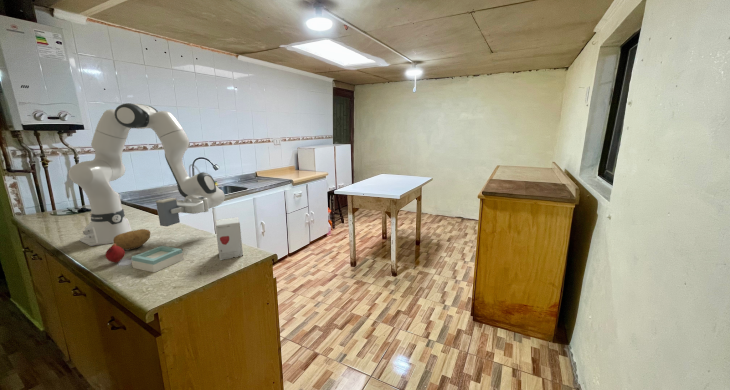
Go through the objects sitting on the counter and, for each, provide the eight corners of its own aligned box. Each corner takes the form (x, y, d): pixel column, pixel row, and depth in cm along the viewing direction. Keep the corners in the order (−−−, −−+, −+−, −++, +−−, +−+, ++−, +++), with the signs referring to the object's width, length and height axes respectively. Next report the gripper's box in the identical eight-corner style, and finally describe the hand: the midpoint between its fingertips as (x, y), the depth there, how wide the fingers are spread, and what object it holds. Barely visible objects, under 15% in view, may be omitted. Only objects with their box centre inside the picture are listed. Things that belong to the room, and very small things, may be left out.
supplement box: (219, 260, 117) (215, 225, 114) (219, 252, 125) (214, 219, 122) (243, 256, 121) (239, 222, 118) (241, 248, 129) (238, 216, 126)
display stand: (132, 267, 112) (130, 256, 111) (163, 255, 123) (161, 245, 122) (154, 272, 108) (152, 261, 107) (183, 259, 119) (182, 249, 118)
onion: (115, 266, 113) (111, 247, 111) (103, 265, 114) (99, 246, 112) (130, 260, 119) (126, 241, 117) (118, 259, 120) (114, 240, 118)
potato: (157, 243, 136) (154, 227, 134) (122, 255, 123) (119, 237, 122) (145, 240, 140) (142, 225, 138) (110, 251, 127) (106, 234, 126)
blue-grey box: (159, 225, 124) (155, 200, 122) (173, 221, 130) (169, 197, 128) (166, 226, 123) (162, 201, 121) (180, 222, 129) (176, 198, 126)
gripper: (177, 195, 140) (147, 202, 127) (209, 198, 133) (182, 205, 120) (179, 208, 141) (150, 216, 128) (211, 211, 135) (184, 220, 122)
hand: (165, 211), depth 124 cm, fingers closed on blue-grey box, 4 cm apart
